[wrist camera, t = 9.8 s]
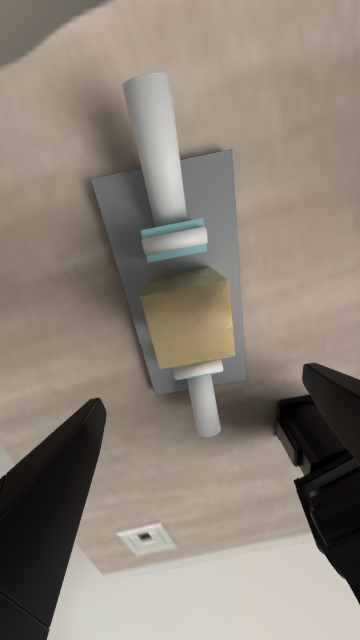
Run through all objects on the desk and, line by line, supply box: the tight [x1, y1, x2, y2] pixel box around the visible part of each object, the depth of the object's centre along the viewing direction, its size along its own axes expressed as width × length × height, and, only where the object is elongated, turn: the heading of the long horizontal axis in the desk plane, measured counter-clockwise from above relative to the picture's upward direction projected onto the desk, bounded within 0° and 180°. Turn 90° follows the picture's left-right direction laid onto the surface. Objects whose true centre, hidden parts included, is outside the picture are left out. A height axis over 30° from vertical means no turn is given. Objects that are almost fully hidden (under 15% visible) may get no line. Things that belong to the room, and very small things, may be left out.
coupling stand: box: [91, 72, 247, 437], centre depth 16 cm, size 10×26×5 cm, turn 10°
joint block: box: [140, 266, 235, 369], centre depth 15 cm, size 5×5×6 cm
